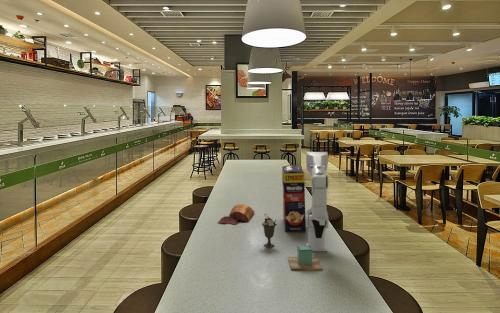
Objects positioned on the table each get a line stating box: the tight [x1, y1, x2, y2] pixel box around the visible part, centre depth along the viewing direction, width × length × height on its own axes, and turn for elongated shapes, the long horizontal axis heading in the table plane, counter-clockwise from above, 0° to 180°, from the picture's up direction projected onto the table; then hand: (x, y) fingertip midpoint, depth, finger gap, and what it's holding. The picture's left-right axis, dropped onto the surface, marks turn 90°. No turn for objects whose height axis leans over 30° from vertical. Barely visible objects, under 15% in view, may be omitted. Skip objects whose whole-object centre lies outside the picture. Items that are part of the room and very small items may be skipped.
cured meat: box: [218, 203, 255, 225], centre depth 215 cm, size 18×25×7 cm
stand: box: [287, 256, 324, 272], centre depth 148 cm, size 12×12×5 cm
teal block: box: [296, 245, 313, 265], centre depth 148 cm, size 5×5×6 cm
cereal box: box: [281, 164, 307, 233], centre depth 201 cm, size 27×11×32 cm, turn 177°
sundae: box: [261, 213, 278, 249], centre depth 169 cm, size 7×7×15 cm
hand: (318, 237), depth 150 cm, fingers closed
